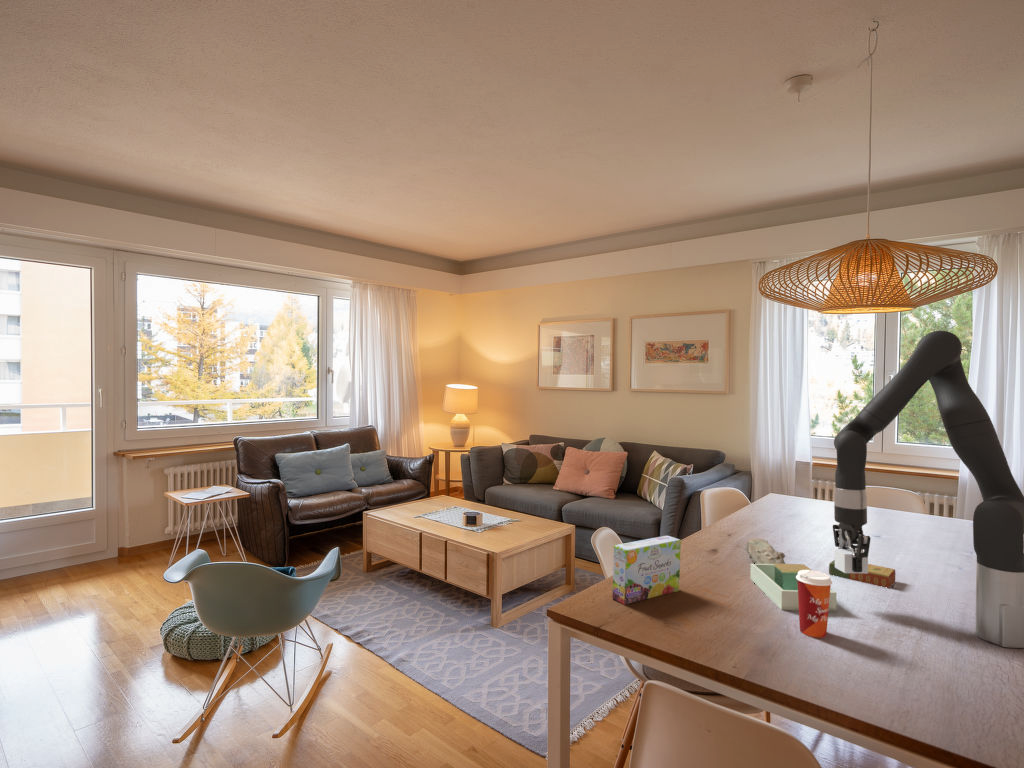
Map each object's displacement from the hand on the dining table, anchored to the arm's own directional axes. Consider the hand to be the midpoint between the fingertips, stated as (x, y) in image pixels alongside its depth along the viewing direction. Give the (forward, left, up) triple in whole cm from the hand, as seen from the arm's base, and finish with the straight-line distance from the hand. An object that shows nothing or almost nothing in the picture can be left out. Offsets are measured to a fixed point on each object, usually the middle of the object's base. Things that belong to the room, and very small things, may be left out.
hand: (851, 568), depth 150 cm
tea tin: (+7, +12, -9) cm, 17 cm away
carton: (+23, -15, -11) cm, 30 cm away
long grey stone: (+38, +8, -11) cm, 41 cm away
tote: (+7, +13, -10) cm, 18 cm away
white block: (0, 0, -1) cm, 1 cm away
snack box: (+3, +53, -10) cm, 55 cm away
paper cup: (-17, +18, -10) cm, 27 cm away
